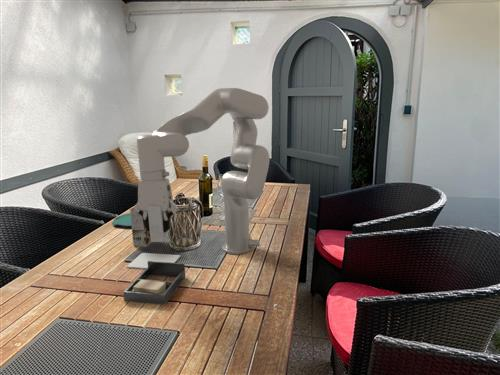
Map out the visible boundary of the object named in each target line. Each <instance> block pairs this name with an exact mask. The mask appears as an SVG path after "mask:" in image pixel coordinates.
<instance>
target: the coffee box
mask: <svg viewBox="0 0 500 375" xmlns="http://www.w3.org/2000/svg"><path fill="white" fill-rule="evenodd" d="M129 211H130V212H129V213H131V225H132V227H131V233H132V234H131V235H132V244H133V247H141V248H142V247H143V248H147V247H149V246H150V245H151V244H152V243H153V242H151V238H150V231H146V228H145V220H144V219H143V217H142V216H141V215H140V214H139V213H138V212H137V211H136V210H134V206H133V207H132V208H130V209H129Z"/></svg>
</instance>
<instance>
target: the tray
mask: <svg viewBox="0 0 500 375" xmlns="http://www.w3.org/2000/svg"><path fill="white" fill-rule="evenodd" d="M147 263H148V268H147V269H144V270H143V271H142V272H141V274H139V275H138V277H136V279H134V280H133V281H132V283H131V284H129V285H128V286H127V288H126V289H124V291H123V292H122V293H123V300H124V302H133V303H145V304H152V305H153V304H156V305H164V306H165V305H166V304H167V303H168V302H169V300H170V299H171V297H172V296H173V295H174V294H175V292H176V291H177V289H178V288H179V286H180V285H181V284H182V282H183V281H184V280H185V279H186V268H185V267H186V265H185V263H182V262H181V263H179V262H176V263H169V262H155V261H148V262H147ZM150 276H154V277H155V276H156V277H157V276H159V277H171V278H175V279H174V280H173V281H170V280H157V279H156V280H155V279H149V278H150ZM148 279H149V280H150V281H158V282H166V292H165V293H164V294H154V293H142V292H132V290H133V287H134V286H135V285H136V284H137V283H138V282H139V281H140V280H148Z"/></svg>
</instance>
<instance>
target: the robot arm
mask: <svg viewBox="0 0 500 375" xmlns="http://www.w3.org/2000/svg"><path fill="white" fill-rule="evenodd" d="M269 106H270V105H269V103H268V101H267V99H266V98H265V97H264V96H263V95H261V94H257V93H255V92H251V91H248V90H246V89H242V88H239V87H228V88H227V87H224V88H222V87H221V88H217V89H215V90H213V91H212V92H211V93H209V94H208V95H206V97H204V99H202V100H200V102H199V103H197V104H196V105H195V106H193V107H192V108H190V109H189V110H187V111H184V112H182V113H181V114H179V115H176V116H174V117H172V118H171V119H169V120H167V121H165V122H164V123H163V124H162V125H160V126H159V127H158V128H157V129H155V130H154V131H153V133H151V134H143V135H139V136H138V137H137V139H136V146H137V156H138V166H139V168H138V169H139V177H140V178H139V180H138V184H137V185H138V187H137V203H136V204H135V205H134V206H133V207H134V210H136V211H137V212H138V213H139V214H140V215H141V216H142V217H143V219H144V220H145V228H146V231H150V228H149V218H148V208H147V207H148V205H153V206H161V211H162V215H163V218H164V220H163V231H164V232H166V233H167V232H168V231H170V229H171V226H170V222H171V220H170V219H171V218H172V217H171V216H173V215H175V214H176V213H177V212H178V211H179V209H180V208H179V207H178V205H177V204H176V203H175V202H174V197H173V192H172V187H171V183H170V180H169V178H168V177H169V176H170V171H166V170H167V169H166V166H165V158H170V157H171V158H172V157H173V158H175V157H176V158H179V157H182V156H183V155H185V154H186V153H187V152H188V150H189V148H190V142H189V140H188V137H187V136H188V135H191V134H192V135H193V134H197V133H201V132H204V131H206V130H208V129H211V127H212V126H213V125H214V124H215V123H216V122H217V121H219V120H220V119H221V118H222V117H223V116H224V115H226V114H229V115H230V117H231V118H232V120H233V122H234V126H235V135H234V139H233V143H232V148H231V153H230V159H229V160H230V163H231V165H232V166H234V167H236V168H239V169H244V170H247V172H244V171H239V170H230V171H226V172H225V173H224V174H223V175H222V177H221V179H220V188H221V192H222V197H223V198H222V199H223V205H224V208H223V210H224V212H223V213H224V234H225V235H224V236H225V238H224V239H225V241H224V242H223V243H222V245H221V250H222V251H223V252H225V253H227V254H231V255H241V254H243V255H244V254H247V253H249V252H251V251H253V249H254V247H260V246H261V245H260V244H261V242H260V240H258V239H252V238H251V237H252V236H251V235H250V224H249V218H250V216H249V210H250V209H249V203H248V202H249V201H248V200H250V201H251V200H257V199H259V198H260V197H261V196H262V194H263V192H264V189H265V186H266V180H267V176H268V172H269V165H270V152H269V150H268V149H267V148H266V147H265V146H263V145H261V144H260V145H259V144H257V138H258V128H257V124H256V123H255V120H262V119H263V118H265V117H266V116H267V114H268V113H269ZM169 209H172V210H169ZM170 217H171V218H170Z"/></svg>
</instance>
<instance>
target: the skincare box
mask: <svg viewBox="0 0 500 375" xmlns="http://www.w3.org/2000/svg"><path fill="white" fill-rule="evenodd" d="M147 208H148V218H149V228H150V238H151V242H152V243H163V242H164V241H165V240H166V239H165V238H166V237H167V232H164V231H163V220H164V218H163V215H162V211H161V206H153V205H148V207H147Z"/></svg>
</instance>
